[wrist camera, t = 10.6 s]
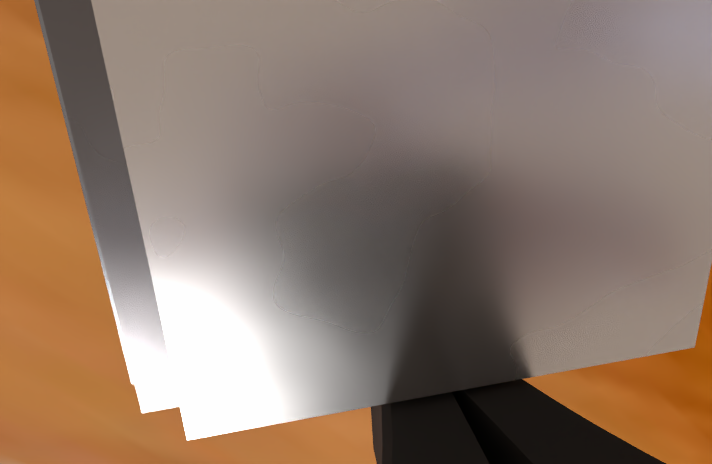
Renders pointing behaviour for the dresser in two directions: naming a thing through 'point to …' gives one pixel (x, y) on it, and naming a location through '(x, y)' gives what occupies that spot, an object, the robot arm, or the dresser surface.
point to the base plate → (108, 194)
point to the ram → (411, 191)
